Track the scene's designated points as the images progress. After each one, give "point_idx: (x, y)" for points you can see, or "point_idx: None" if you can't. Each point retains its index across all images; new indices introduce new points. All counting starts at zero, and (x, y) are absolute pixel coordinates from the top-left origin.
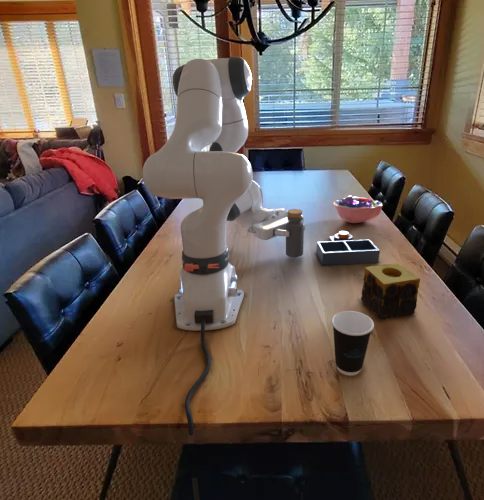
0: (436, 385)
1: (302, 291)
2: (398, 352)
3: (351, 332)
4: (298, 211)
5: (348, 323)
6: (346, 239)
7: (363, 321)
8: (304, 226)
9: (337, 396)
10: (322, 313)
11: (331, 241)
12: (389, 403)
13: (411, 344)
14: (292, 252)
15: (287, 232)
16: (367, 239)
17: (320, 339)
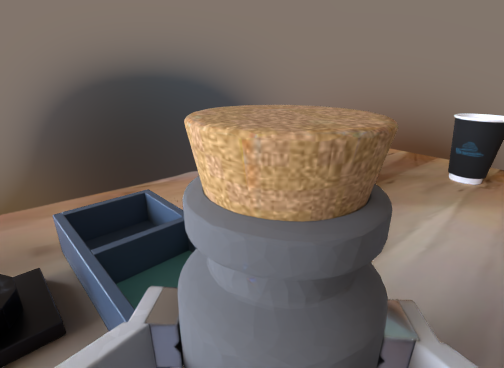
0: (391, 156)
1: (443, 269)
2: (388, 168)
3: (464, 145)
4: (273, 107)
5: (472, 134)
6: (13, 281)
7: (457, 124)
8: (163, 287)
9: (500, 176)
10: (439, 218)
11: (107, 282)
12: (448, 163)
13: None
14: None
15: (412, 305)
16: (56, 217)
17: (480, 201)
